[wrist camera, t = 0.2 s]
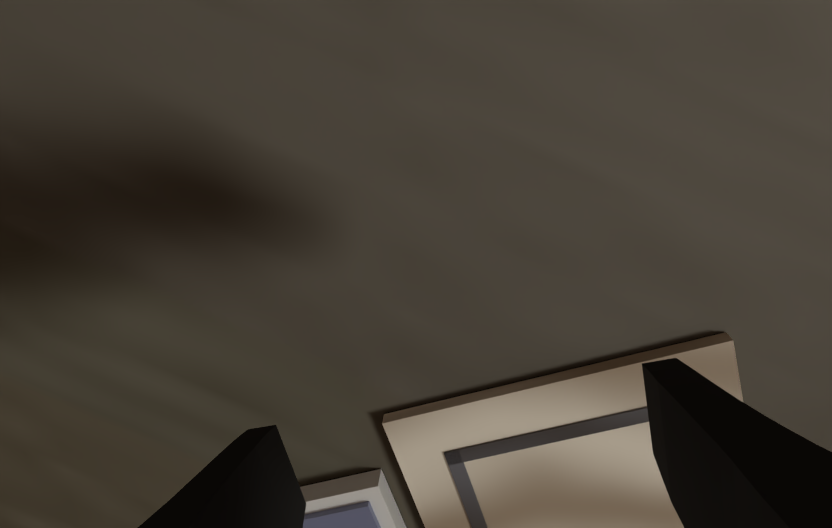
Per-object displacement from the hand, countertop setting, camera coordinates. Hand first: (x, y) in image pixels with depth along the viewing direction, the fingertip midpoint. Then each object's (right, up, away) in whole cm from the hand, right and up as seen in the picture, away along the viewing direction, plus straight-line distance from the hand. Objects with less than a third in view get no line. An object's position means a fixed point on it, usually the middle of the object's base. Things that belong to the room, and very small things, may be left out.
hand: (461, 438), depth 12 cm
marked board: (+6, -7, +13) cm, 16 cm away
